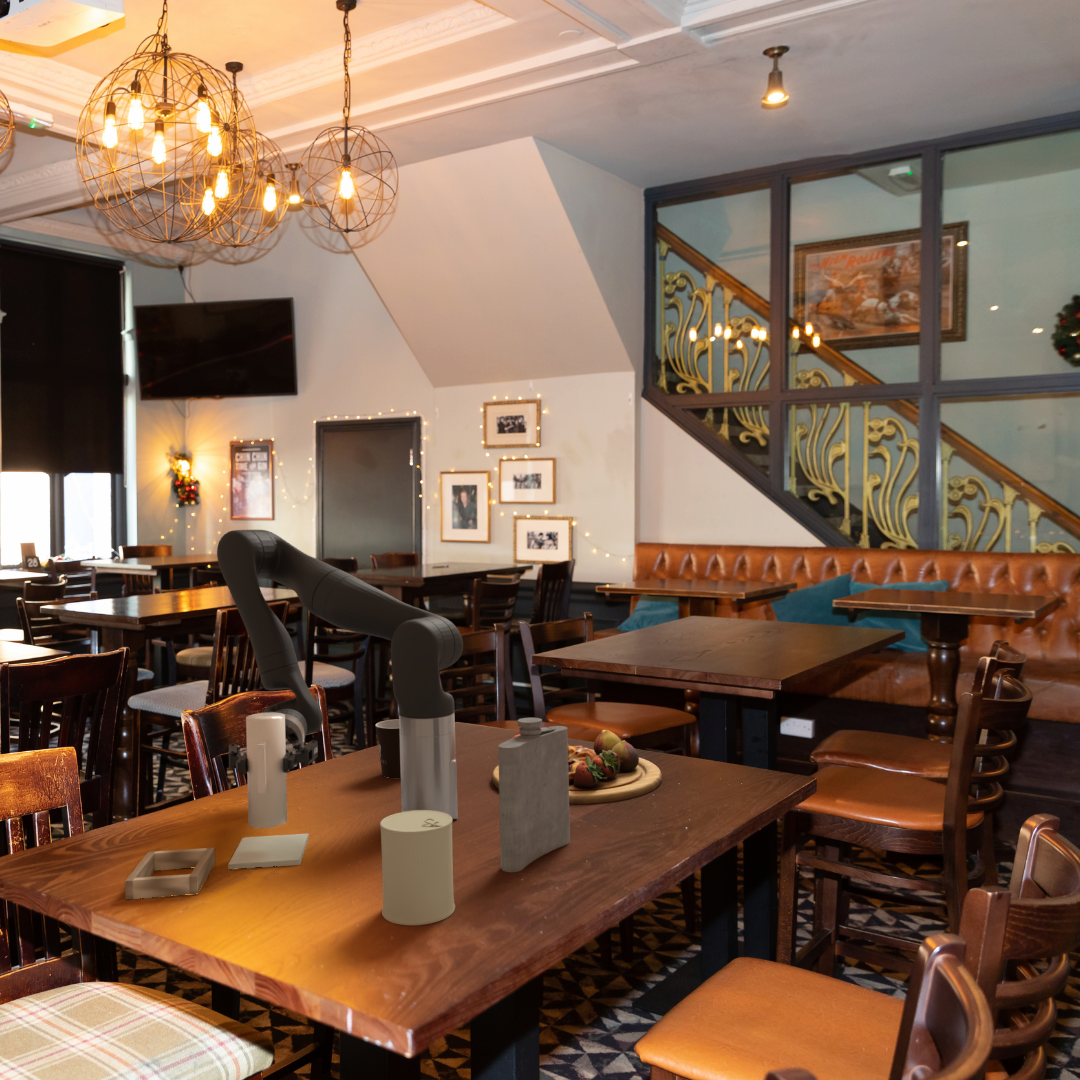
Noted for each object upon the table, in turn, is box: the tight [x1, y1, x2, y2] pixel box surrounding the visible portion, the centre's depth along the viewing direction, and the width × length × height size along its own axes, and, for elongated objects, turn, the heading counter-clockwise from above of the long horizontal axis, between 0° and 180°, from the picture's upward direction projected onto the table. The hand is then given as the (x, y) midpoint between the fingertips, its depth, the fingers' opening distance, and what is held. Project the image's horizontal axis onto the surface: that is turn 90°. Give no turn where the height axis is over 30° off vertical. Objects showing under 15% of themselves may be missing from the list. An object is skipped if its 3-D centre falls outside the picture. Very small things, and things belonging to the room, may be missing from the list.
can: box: [379, 810, 456, 926], centre depth 124 cm, size 9×9×12 cm
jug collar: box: [124, 847, 216, 900], centre depth 136 cm, size 9×12×2 cm
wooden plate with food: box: [491, 729, 663, 805], centre depth 185 cm, size 32×32×8 cm
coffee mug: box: [375, 718, 401, 779], centre depth 193 cm, size 12×9×10 cm
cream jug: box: [245, 712, 288, 829], centre depth 146 cm, size 6×8×16 cm
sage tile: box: [227, 833, 310, 870], centre depth 147 cm, size 10×12×1 cm
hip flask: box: [497, 717, 571, 873], centre depth 144 cm, size 16×4×20 cm, turn 147°
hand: (264, 766), depth 144 cm, fingers closed on cream jug, 5 cm apart
